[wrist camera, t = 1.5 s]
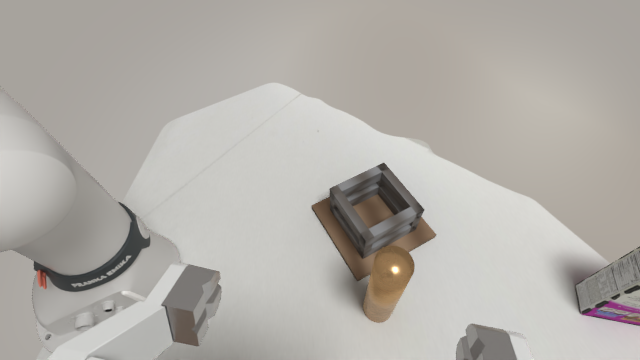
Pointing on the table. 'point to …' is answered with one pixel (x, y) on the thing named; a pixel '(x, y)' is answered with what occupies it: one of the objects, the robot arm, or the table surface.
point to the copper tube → (387, 282)
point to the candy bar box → (613, 291)
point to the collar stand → (372, 218)
